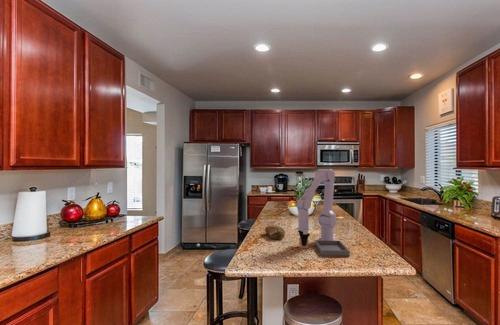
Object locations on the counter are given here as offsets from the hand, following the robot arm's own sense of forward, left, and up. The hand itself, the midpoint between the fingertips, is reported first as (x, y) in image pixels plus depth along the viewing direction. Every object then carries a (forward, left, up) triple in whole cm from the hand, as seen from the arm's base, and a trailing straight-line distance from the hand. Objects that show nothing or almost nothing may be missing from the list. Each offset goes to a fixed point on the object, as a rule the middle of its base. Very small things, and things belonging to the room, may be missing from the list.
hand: (303, 244), depth 165 cm
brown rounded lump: (-25, -16, -2) cm, 29 cm away
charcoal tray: (+7, +14, -1) cm, 16 cm away
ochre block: (0, 0, -1) cm, 1 cm away
